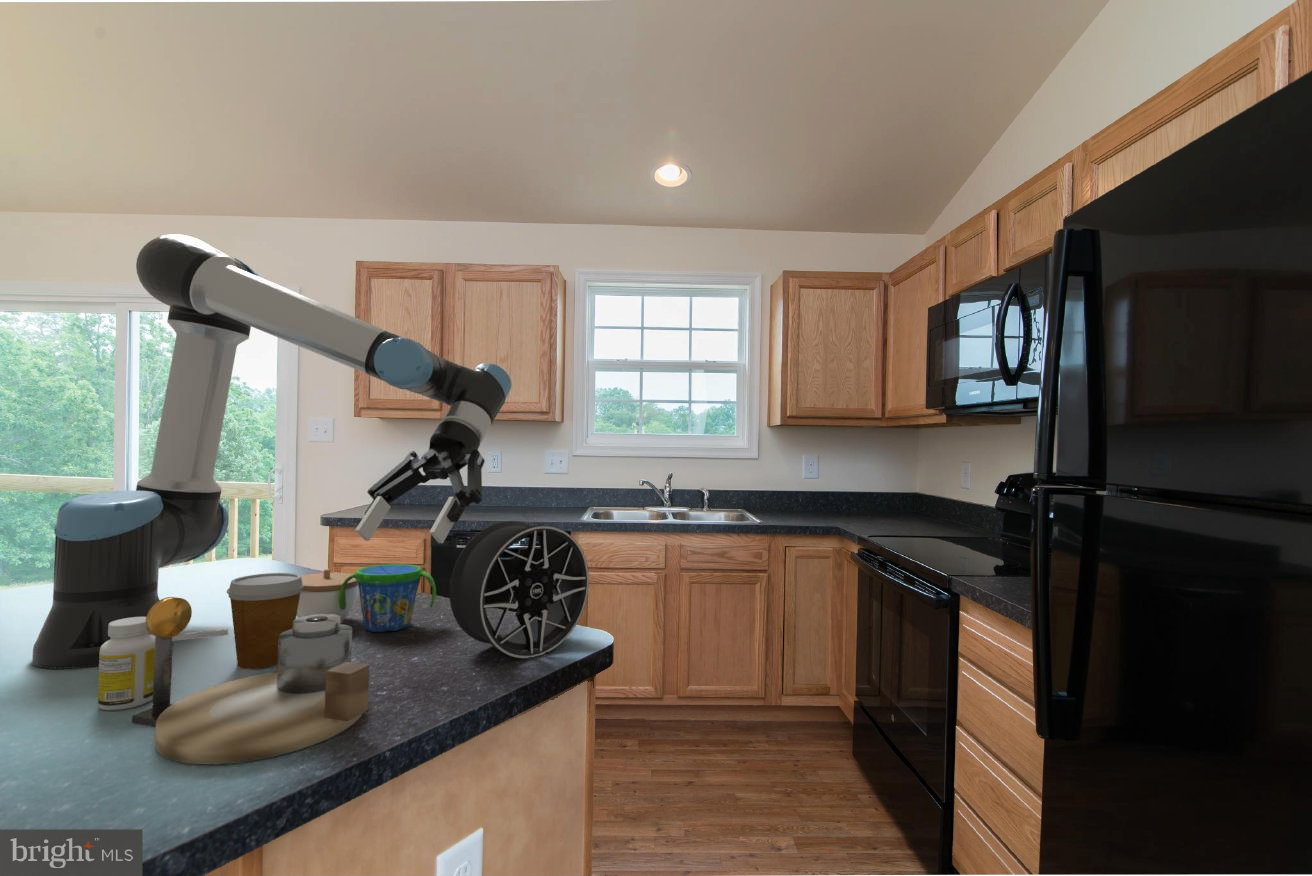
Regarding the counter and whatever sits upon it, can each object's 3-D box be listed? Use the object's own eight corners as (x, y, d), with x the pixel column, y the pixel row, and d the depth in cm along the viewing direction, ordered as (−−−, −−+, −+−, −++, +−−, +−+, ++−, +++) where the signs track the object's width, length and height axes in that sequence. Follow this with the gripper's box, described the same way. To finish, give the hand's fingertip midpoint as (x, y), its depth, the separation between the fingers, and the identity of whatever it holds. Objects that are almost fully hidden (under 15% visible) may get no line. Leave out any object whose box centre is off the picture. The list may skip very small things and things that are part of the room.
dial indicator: (127, 724, 68) (133, 600, 68) (188, 700, 74) (193, 587, 75) (169, 731, 66) (175, 605, 67) (227, 706, 73) (232, 591, 73)
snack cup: (441, 618, 112) (442, 563, 113) (425, 635, 102) (427, 574, 102) (353, 620, 111) (354, 563, 111) (328, 637, 100) (329, 575, 101)
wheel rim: (477, 672, 86) (482, 530, 87) (446, 656, 93) (451, 524, 93) (587, 643, 101) (590, 521, 101) (553, 631, 107) (557, 516, 107)
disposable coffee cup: (283, 647, 95) (286, 569, 95) (313, 660, 89) (316, 578, 90) (212, 663, 87) (215, 579, 87) (240, 679, 82) (243, 589, 82)
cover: (260, 688, 73) (263, 623, 73) (313, 666, 81) (316, 608, 81) (315, 697, 71) (318, 630, 71) (364, 673, 79) (367, 613, 79)
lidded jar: (338, 610, 116) (341, 561, 116) (369, 622, 110) (372, 570, 110) (277, 622, 107) (280, 568, 107) (307, 635, 101) (311, 579, 101)
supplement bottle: (145, 690, 77) (148, 612, 77) (164, 700, 74) (168, 619, 75) (89, 705, 73) (93, 622, 73) (107, 716, 70) (111, 629, 70)
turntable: (104, 746, 62) (107, 677, 62) (272, 678, 82) (275, 625, 82) (279, 781, 57) (282, 705, 57) (415, 698, 76) (417, 642, 76)
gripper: (532, 447, 102) (481, 554, 88) (412, 451, 111) (347, 548, 96) (514, 415, 97) (456, 522, 83) (389, 421, 106) (318, 519, 91)
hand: (398, 536), depth 90 cm, fingers open, 13 cm apart
